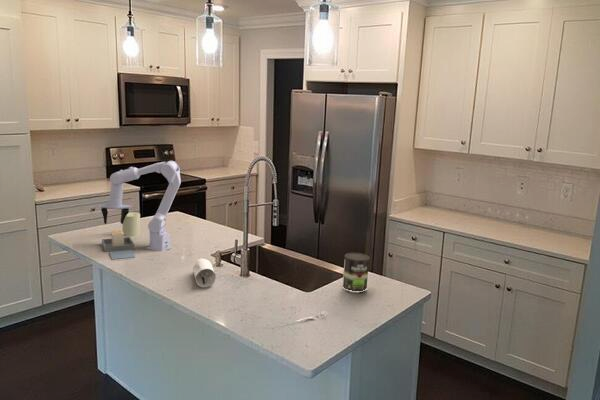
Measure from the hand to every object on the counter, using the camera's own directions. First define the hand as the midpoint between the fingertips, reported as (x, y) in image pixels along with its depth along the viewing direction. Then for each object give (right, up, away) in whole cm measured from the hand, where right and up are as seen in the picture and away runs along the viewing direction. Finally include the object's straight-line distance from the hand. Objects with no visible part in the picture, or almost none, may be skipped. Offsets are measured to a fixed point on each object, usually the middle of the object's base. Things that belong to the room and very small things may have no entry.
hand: (113, 223), depth 232 cm
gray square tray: (+2, -12, +1) cm, 12 cm away
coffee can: (+114, -26, -34) cm, 121 cm away
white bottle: (+50, -22, -33) cm, 64 cm away
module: (+2, -11, +1) cm, 12 cm away
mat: (+8, -15, -11) cm, 20 cm away
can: (+1, -8, +22) cm, 24 cm away
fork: (+92, -32, -65) cm, 117 cm away
